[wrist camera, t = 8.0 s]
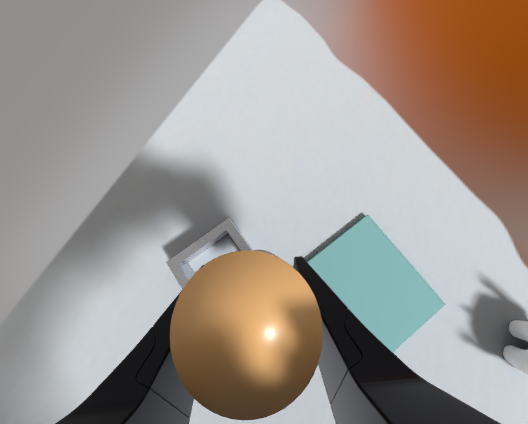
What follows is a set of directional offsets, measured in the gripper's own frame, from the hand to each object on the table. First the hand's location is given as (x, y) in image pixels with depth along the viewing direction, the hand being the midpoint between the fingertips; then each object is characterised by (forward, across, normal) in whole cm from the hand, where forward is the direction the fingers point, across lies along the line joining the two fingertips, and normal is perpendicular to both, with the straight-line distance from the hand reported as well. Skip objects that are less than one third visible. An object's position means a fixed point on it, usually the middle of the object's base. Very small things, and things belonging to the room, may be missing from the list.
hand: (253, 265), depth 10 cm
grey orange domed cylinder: (+4, 0, +6) cm, 7 cm away
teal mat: (+6, -12, +13) cm, 19 cm away
